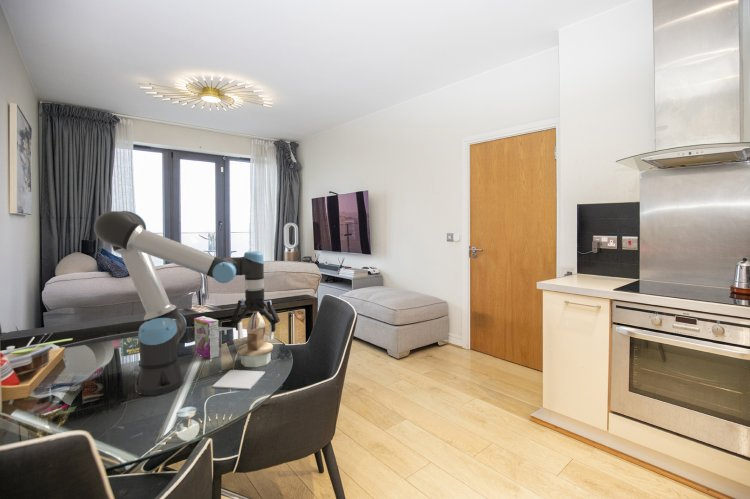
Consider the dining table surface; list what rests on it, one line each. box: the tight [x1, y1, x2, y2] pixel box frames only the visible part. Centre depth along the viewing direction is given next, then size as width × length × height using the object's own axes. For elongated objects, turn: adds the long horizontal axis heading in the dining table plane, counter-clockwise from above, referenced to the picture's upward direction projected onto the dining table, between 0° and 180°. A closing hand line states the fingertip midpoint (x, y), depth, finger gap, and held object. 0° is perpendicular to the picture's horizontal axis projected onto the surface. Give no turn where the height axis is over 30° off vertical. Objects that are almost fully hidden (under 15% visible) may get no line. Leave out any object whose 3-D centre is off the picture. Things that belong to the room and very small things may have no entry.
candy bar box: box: [193, 316, 220, 360], centre depth 159 cm, size 11×5×16 cm, turn 58°
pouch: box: [246, 311, 266, 336], centre depth 173 cm, size 25×8×19 cm, turn 13°
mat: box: [211, 369, 266, 390], centre depth 137 cm, size 14×14×1 cm
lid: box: [237, 329, 274, 357], centre depth 153 cm, size 14×14×8 cm
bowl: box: [240, 351, 272, 368], centre depth 154 cm, size 11×11×5 cm
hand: (255, 338), depth 153 cm, fingers open, 13 cm apart
